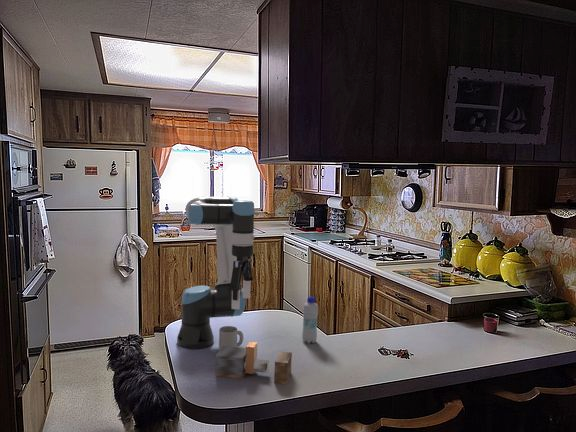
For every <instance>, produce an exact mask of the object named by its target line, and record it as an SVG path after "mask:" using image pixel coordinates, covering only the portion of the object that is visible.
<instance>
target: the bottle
mask: <svg viewBox="0 0 576 432" xmlns="http://www.w3.org/2000/svg"><path fill="white" fill-rule="evenodd" d="M318 305H319V304H317V303H316V298H315V297H314V296H308V297H307V300H306V302H305V303H304V304H303V308H302V309H303V310H302V315H303V323H302V324H303V325H302V326H303V327H302V341H303V342H304V344H305V343H307V344H308V345H310V344H314V343H316V341H317V339H318V338H317V337H318V333H317V332H318V331H317V330H318V329H317V328H318V327H317V326H318V315H319V306H318Z"/></svg>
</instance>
